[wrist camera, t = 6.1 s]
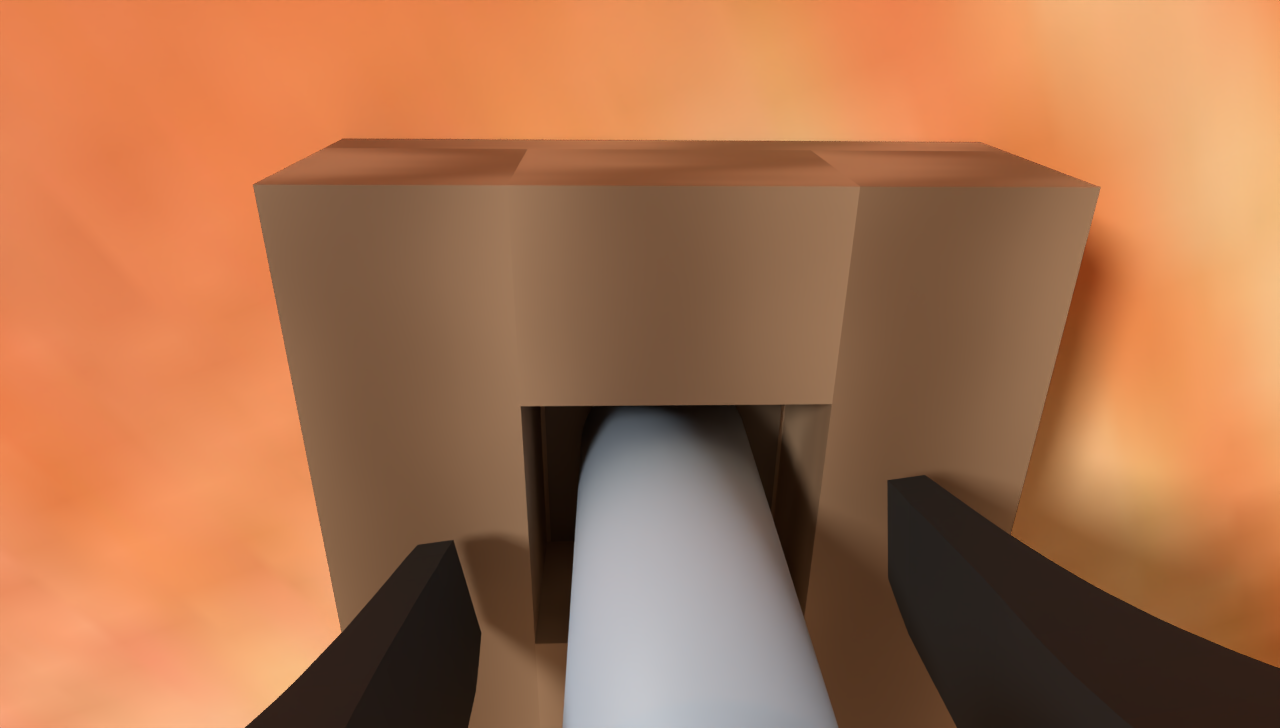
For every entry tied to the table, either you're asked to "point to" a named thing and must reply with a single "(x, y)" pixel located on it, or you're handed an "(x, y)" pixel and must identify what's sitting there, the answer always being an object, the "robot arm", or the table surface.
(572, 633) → the dowel
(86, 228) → the table surface
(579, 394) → the walnut block
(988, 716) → the robot arm
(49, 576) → the table surface
